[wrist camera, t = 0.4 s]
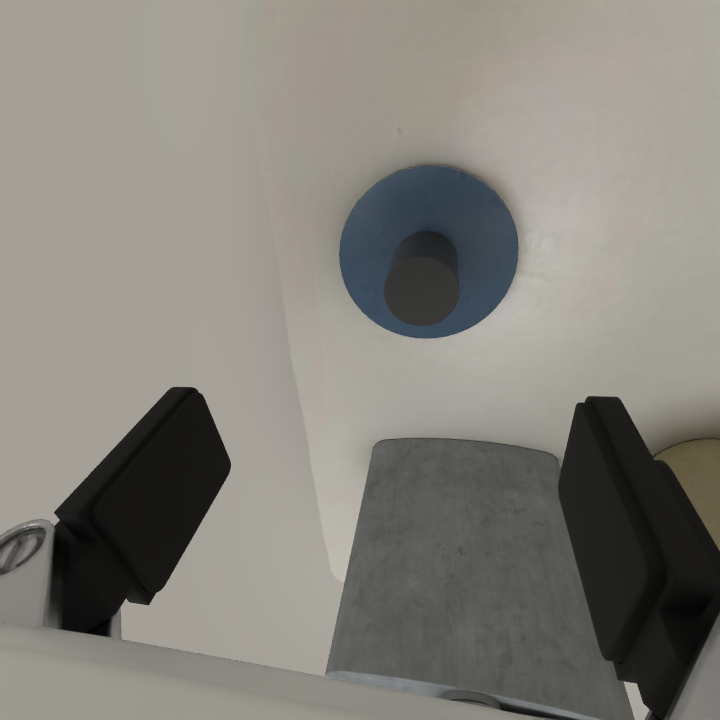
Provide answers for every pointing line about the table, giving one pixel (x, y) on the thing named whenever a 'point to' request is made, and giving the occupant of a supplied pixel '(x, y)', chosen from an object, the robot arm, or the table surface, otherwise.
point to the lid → (428, 251)
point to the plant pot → (699, 478)
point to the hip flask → (471, 585)
